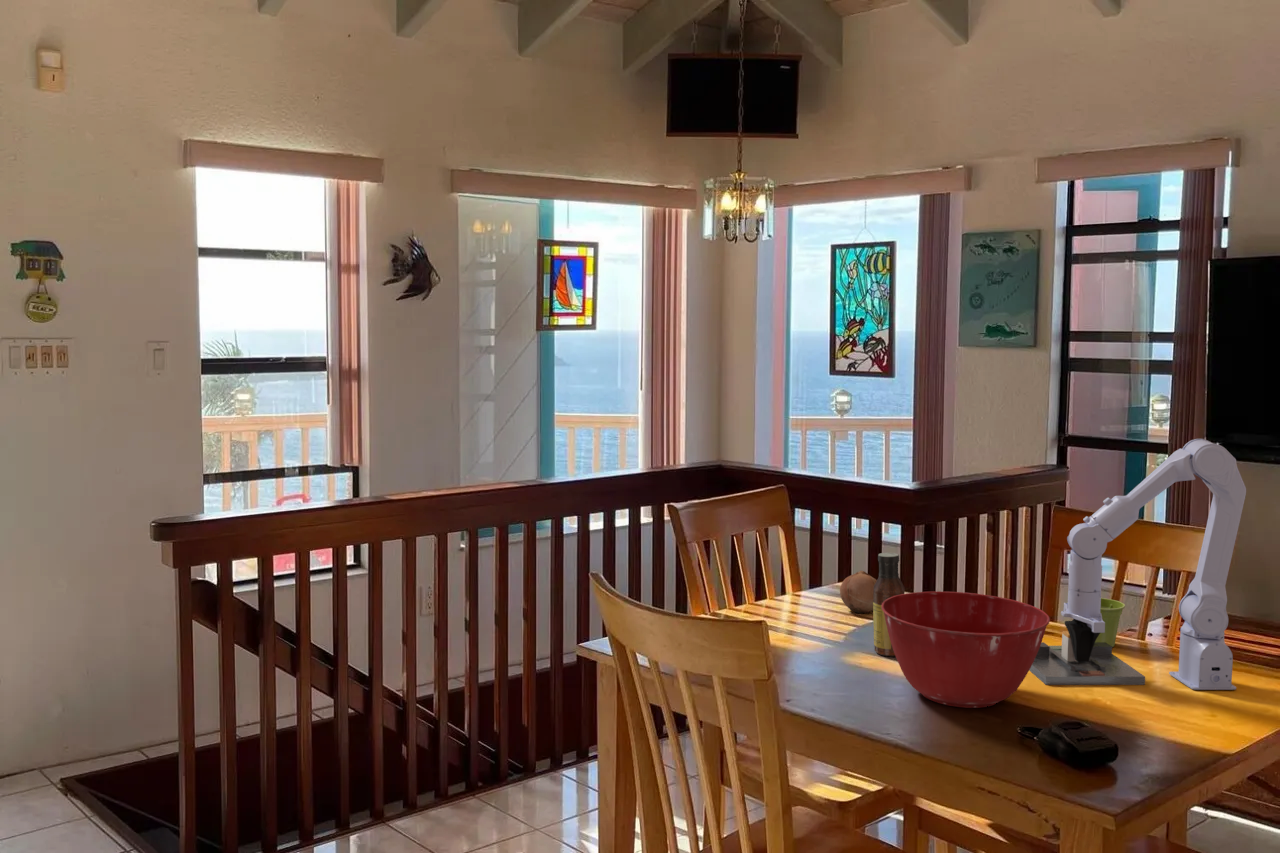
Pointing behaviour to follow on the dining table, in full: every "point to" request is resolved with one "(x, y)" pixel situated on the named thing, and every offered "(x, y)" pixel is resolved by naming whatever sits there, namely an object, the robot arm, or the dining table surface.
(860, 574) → the onion
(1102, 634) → the plant pot
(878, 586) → the sauce bottle
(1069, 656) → the white orange block
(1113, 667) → the panel
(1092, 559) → the robot arm
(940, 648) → the mixing bowl
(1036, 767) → the dining table surface
